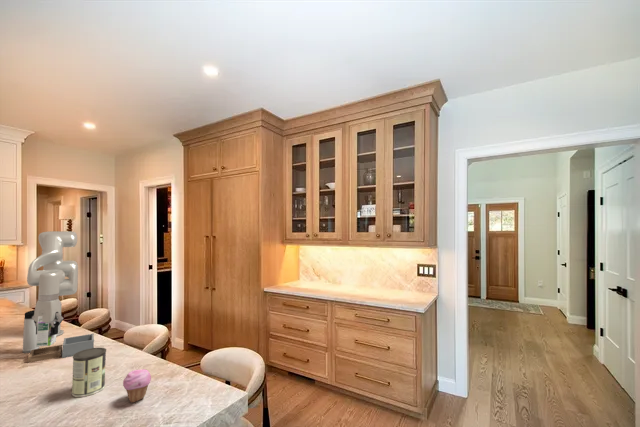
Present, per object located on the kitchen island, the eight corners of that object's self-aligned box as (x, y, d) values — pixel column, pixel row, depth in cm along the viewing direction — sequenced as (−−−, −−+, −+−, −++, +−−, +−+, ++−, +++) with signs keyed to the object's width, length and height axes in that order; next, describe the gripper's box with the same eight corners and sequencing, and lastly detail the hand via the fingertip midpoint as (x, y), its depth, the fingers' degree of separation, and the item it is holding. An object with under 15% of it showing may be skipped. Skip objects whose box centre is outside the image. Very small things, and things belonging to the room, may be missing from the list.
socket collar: (31, 355, 151) (31, 349, 151) (62, 349, 157) (62, 344, 158) (27, 363, 141) (27, 357, 141) (60, 357, 148) (60, 351, 148)
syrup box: (35, 347, 147) (37, 316, 147) (42, 342, 152) (44, 312, 153) (50, 346, 148) (51, 315, 149) (56, 341, 154) (58, 312, 154)
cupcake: (119, 398, 112) (120, 370, 112) (146, 389, 118) (147, 363, 118) (126, 408, 106) (127, 378, 106) (153, 399, 112) (154, 370, 112)
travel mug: (43, 348, 159) (45, 309, 160) (30, 353, 152) (32, 312, 153) (32, 348, 159) (34, 308, 161) (18, 353, 153) (21, 312, 154)
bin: (63, 350, 156) (64, 338, 157) (93, 345, 164) (93, 333, 164) (62, 358, 147) (62, 345, 147) (93, 352, 154) (93, 340, 154)
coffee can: (87, 382, 123) (89, 346, 124) (111, 384, 122) (112, 347, 123) (63, 396, 113) (65, 357, 114) (89, 398, 112) (91, 358, 113)
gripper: (25, 298, 149) (23, 335, 148) (56, 300, 146) (54, 338, 145) (41, 295, 156) (39, 330, 155) (71, 296, 154) (69, 332, 153)
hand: (46, 333), depth 150 cm, fingers closed on syrup box, 7 cm apart
